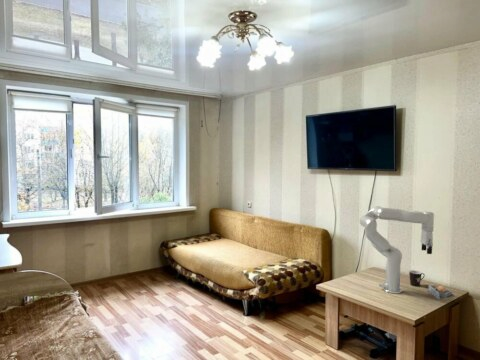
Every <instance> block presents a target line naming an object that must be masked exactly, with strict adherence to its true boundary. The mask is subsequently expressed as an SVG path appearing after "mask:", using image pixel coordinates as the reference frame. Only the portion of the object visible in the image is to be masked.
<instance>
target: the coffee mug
mask: <svg viewBox="0 0 480 360" xmlns="http://www.w3.org/2000/svg"><path fill="white" fill-rule="evenodd" d="M408 273H409V274H408V275H409V284H410V286H412V287H415V288H416V287H417V288H418V287H420V285H421V281H422V280H423V279H424V278H425V273H424V272H422V271H419V270H413V269H412V270H411V269H410V270H409V271H408ZM422 275H423V276H422Z"/></svg>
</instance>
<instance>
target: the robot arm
mask: <svg viewBox="0 0 480 360" xmlns="http://www.w3.org/2000/svg"><path fill="white" fill-rule="evenodd" d="M377 219H379V220H382V221H383V220H384V221H395V222H403V223H410V224H413V223H414V224H421V233H420V243H421V251H426V254H427V255H432V254H433V245H434V240H433V239H434V237H433V236H434V235H433V234H434V233H433V232H434V223H435V222H434V220H435V214H434V212H432V211H419V210H413V211H408V210H405V209H399V208H389V207H381V206H374V207H373V208H371V209H370V210H368V211H367V212H366V213H364V214H363V215H362V216H361V217H360V219H359V224H360V226H362V227H363V228H365V229H364V235H365V237H366V239H367V240H368V241H369V242H370V243H371V246H372V247H373V248H374V249H375V250H377V252H379V253H380V254H381V255H382V256H384V257H385V258H386V259H387V261H386V265H385V282H384V283H383V284H382V283H378V287H380V288H383V291H385V292H386V293H391V294H401V293H403V290H402V288H401V267H402V266H401V265H402V264H401V263H402V259H403V253H402V251H401V250H400V249H399V248H397V247H395V246H393V245H391V244H390V242H389V241H388V239H387V238H385V237H384V236H382V234H380V233H379V232H378V230H377V228H378V222H377Z"/></svg>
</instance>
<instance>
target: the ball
mask: <svg viewBox="0 0 480 360" xmlns="http://www.w3.org/2000/svg"><path fill="white" fill-rule="evenodd" d="M446 290H447V289H446V287H445V286H443V285H439V286H438V291H439V292H441V293H445V291H446Z"/></svg>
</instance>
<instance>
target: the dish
mask: <svg viewBox="0 0 480 360" xmlns="http://www.w3.org/2000/svg"><path fill="white" fill-rule="evenodd" d="M438 287H439V286H438ZM438 287H435V288H434V289H435V290H436V291H437V292H438V293H439V297H440V298H441V297H442V298H448V297H450V296H452V295H453V293H452V291H451V290H449V289H448V290H447V289H446V291H445V293H441V292H439V291H438ZM430 294H432V290H431V293H430ZM432 295H433V294H432Z"/></svg>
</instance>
